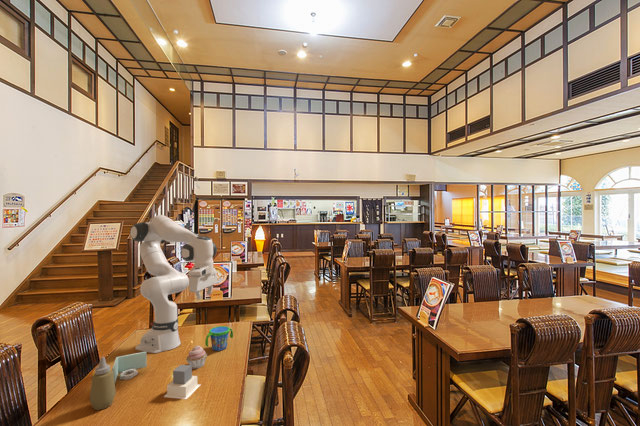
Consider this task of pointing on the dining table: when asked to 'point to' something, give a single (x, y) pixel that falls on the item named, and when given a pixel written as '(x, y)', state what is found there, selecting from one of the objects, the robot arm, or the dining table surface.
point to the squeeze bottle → (102, 386)
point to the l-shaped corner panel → (128, 365)
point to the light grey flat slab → (182, 397)
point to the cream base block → (182, 388)
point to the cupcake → (196, 357)
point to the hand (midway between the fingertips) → (204, 296)
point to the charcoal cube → (182, 374)
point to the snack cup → (219, 337)
